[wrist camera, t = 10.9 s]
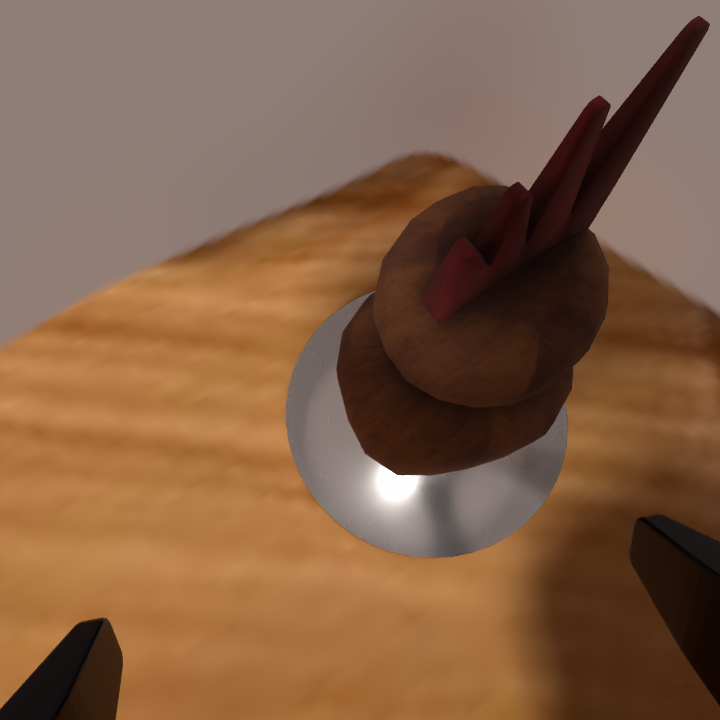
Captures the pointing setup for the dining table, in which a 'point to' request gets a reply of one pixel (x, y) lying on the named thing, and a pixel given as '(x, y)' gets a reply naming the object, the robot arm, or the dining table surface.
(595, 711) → the dining table surface
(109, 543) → the dining table surface
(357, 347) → the wooden figurine
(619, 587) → the dining table surface
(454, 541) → the plate
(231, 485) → the dining table surface
